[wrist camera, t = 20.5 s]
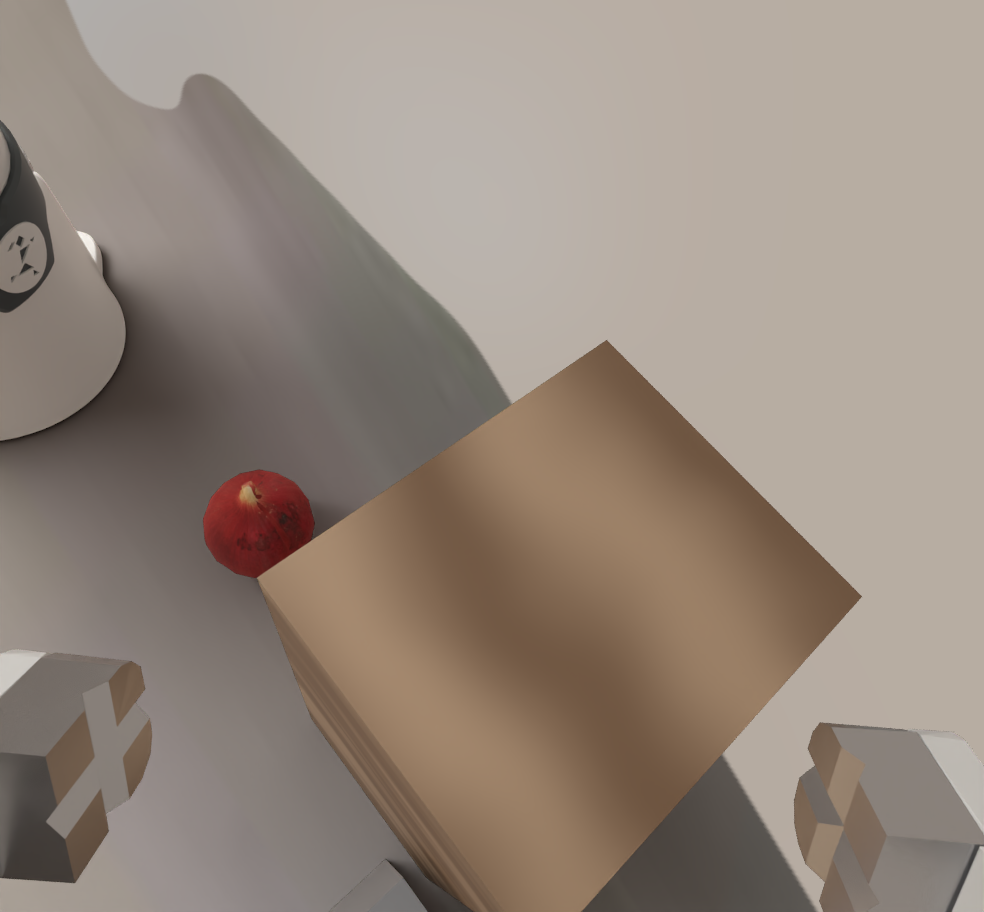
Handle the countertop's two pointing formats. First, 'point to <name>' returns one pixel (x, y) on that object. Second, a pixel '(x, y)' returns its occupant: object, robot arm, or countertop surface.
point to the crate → (381, 894)
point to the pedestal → (549, 635)
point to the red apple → (257, 522)
